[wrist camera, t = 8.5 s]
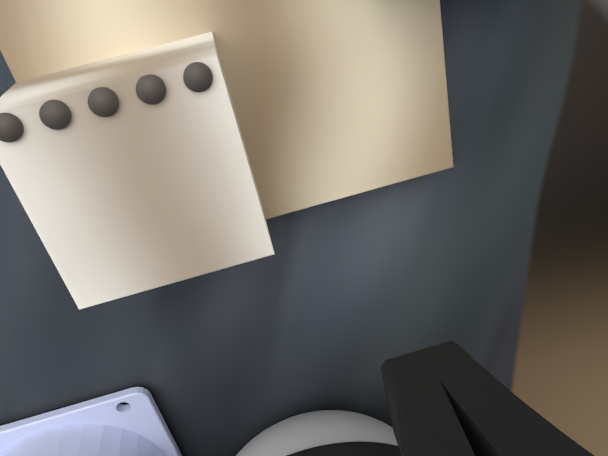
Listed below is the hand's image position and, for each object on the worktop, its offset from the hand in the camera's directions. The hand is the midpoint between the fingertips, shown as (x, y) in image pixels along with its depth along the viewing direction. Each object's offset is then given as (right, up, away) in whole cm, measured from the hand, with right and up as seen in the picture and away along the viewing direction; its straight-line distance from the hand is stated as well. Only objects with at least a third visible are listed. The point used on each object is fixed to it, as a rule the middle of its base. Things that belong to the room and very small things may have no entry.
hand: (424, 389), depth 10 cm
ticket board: (-5, +10, +5) cm, 12 cm away
